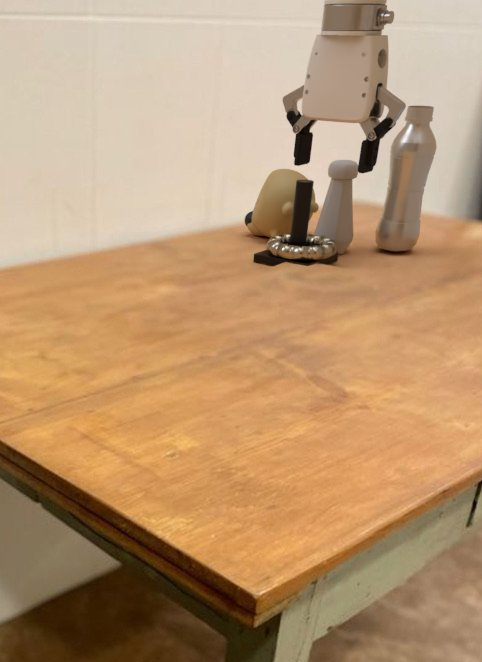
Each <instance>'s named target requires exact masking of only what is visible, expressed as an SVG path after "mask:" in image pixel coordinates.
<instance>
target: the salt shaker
mask: <svg viewBox="0 0 482 662" xmlns="http://www.w3.org/2000/svg"><path fill="white" fill-rule="evenodd" d="M358 165H359V163H357V161H355V160H351V159H336V160H332V161H331V162H330V163H329V165H328V168H327V175H328V178H330V182H329V185H328V188H327V192H326V195H325V198H324V201H323V205H322V208H321V210H320V213H319V217H318V220H317V224H316V227H315V230H314V232H313V233H314V235H320V236H325V237H327V238H329V239H332V240H334V241H335V243H336V252H338V253H339V254H338V255H344V254H345V252H346V251H347V249H348V248H349V246H350V244H351V243H352V242H353V240H354V210H353V209H354V208H353V207H354V206H353V180H354V179H356V178H358V175H359V172H358Z"/></svg>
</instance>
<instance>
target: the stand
mask: <svg viewBox="0 0 482 662" xmlns="http://www.w3.org/2000/svg"><path fill="white" fill-rule="evenodd" d="M313 189H314V180H312V179H308V180H297V181H296V189H295V198H294V206H293V215H292V224H291V233H290V241H289V245H294V246H306V239H307V234H308V230H309V222H310V221H309V215H310V207H311V199H312V191H313ZM339 255H340V254H339V253H338V252H336V253H335V254H334V255H333V256H332V257H329V258H326V259H323V260H315V261H297V260H288V259H283V258H278V257H276V256H274V255H272V254H270V253H268V251H267V249H265V250H262V251H258V252H255V253H254V254H253V259H252V260H253V261H252V262H253V263H257V264H261V265H266V266H271V267H276V266H278V265H282V264H284V263H289V264H295V265H300V266H305V267H309V266H311V265H314V264H319V265H320V264H322V265H326V266H327V265H330V264H332V263H335V262H338V260H339Z"/></svg>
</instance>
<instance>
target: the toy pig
mask: <svg viewBox="0 0 482 662" xmlns="http://www.w3.org/2000/svg"><path fill="white" fill-rule="evenodd" d="M297 180H309V179H308V177H306V176H305V175H304V174H302V173H301V172H299V171H297V170H294V169H289V168H277V169H275V170H273V171H271V172H270V173H269V175H268V176H267V177H266V179H265V181H264V183H263V185H262V187H261V189H260V192H259V194H258V195H257V199H256V201H255V204H254V207H253V209H252V211H249V212H247V214H246V215H245V216H244V225H245V226H246V227H247V229H248V231H249V232H250V233H251V234H253V235H254V236H259V237H268V238H269V239H270V238H271V237H274V236H277V235H280V234H290V233H291V224H292V215H293V206H294V198H295V189H296V181H297ZM319 209H320V208H319V204H318V203H317V202H316V194H315V189H314V188H313V191H312V199H311V207H310V215H309V222H310V221H311V219H312V218H313V214H314V213H317V212H318V211H319Z"/></svg>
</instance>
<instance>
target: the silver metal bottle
mask: <svg viewBox="0 0 482 662" xmlns="http://www.w3.org/2000/svg"><path fill="white" fill-rule="evenodd" d="M434 109H435V106H431V105H407V107H406V114H405V116H404V121H405V125H404V127H402V128H401V130H400V131H399V132H398V133H397V134H396V136H395V137H394V139H393V141H392V143H391V145H390V151H389V153H390V155H389V170H388V171H389V173H388V180H387V188H386V195H385V199H384V203H383V207H382V211H381V215H380V218H379V220H378V223H377V226H376V228H375V243H376V246H377V247H378V248H379V249H381V250H385V251H388V252H392V253H397V252H406V251H411V250H413V248H414V247H415V246H417V243H418V241H419V239H420V235H421V213H422V207H423V206H422V205H423V196H424V193H425V187H426V186H427V180H428V177H429V173H430V170H431V167H432V165H433V162H434V158H435V155H436V152H437V148H438V147H437V140H436V137H435V135H434V132H433V130H432V128H431V125H430V124H431V122H433V119H434V117H433V116H434Z"/></svg>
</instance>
